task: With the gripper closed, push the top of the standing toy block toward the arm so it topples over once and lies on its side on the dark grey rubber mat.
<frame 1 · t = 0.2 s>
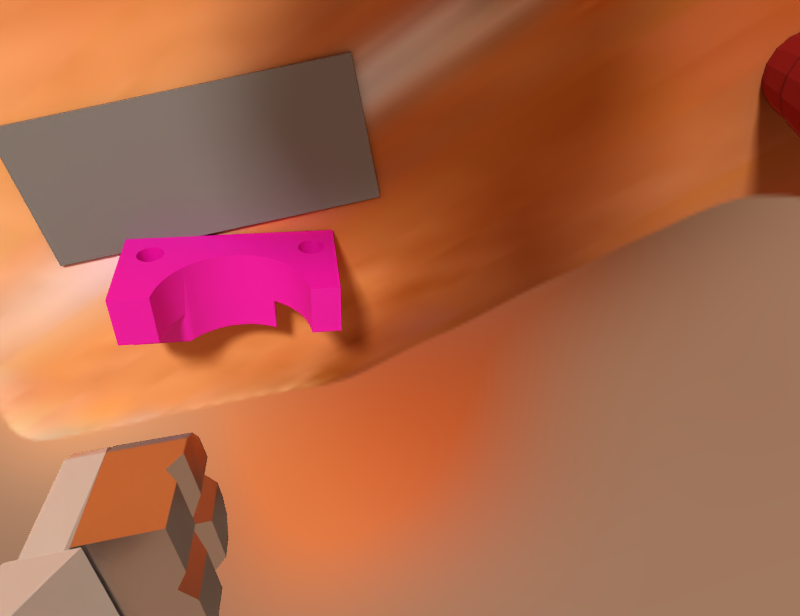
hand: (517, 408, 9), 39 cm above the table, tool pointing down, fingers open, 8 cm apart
rubber mat: (197, 164, 46), on the table
plastic cup: (796, 71, 49), on the table
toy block: (236, 268, 51), on the table, touching rubber mat
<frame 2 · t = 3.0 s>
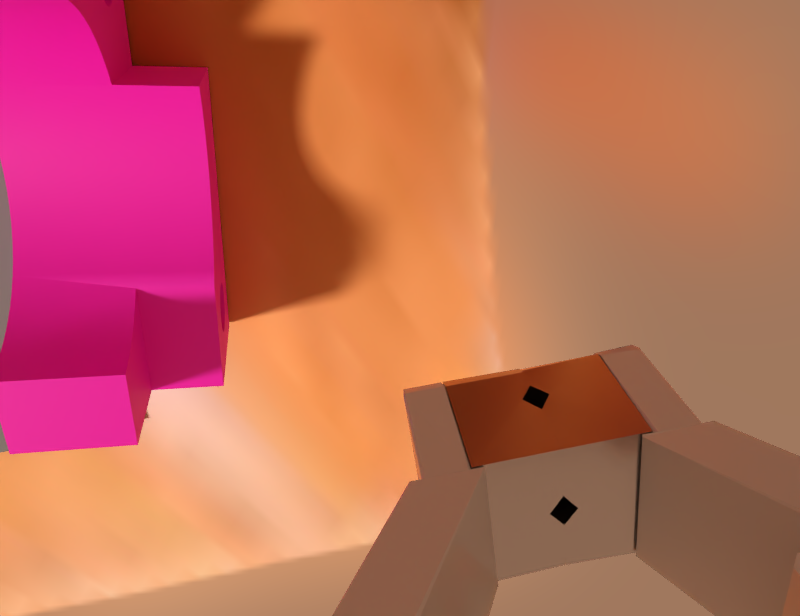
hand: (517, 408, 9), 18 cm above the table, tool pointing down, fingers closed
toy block: (126, 146, 24), on the table, touching rubber mat
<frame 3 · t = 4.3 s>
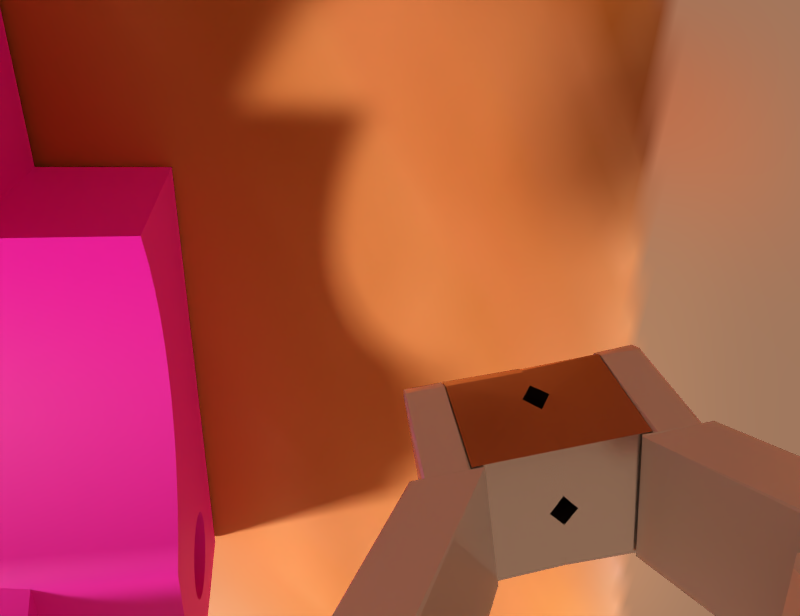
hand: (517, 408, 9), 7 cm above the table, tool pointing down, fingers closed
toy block: (34, 295, 14), on the table, touching rubber mat
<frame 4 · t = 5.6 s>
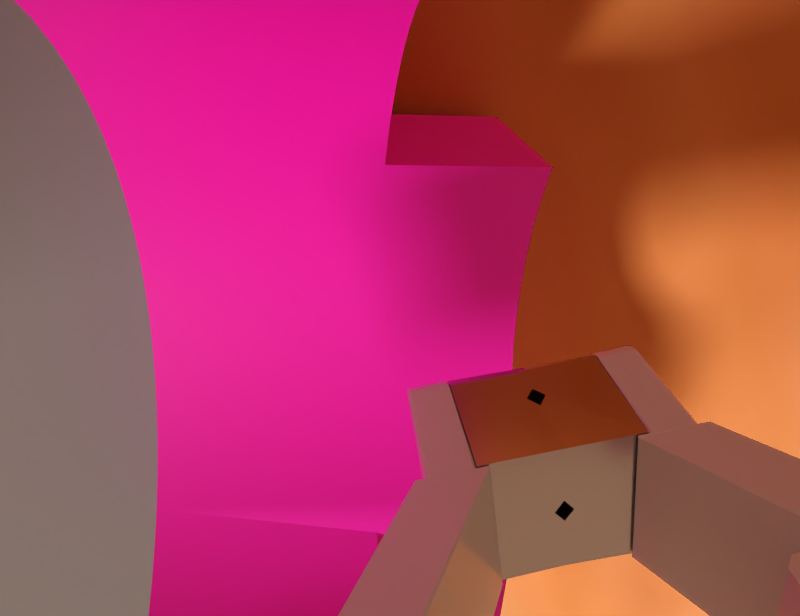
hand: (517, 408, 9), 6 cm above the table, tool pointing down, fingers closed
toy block: (334, 247, 14), on the table, touching gripper, rubber mat
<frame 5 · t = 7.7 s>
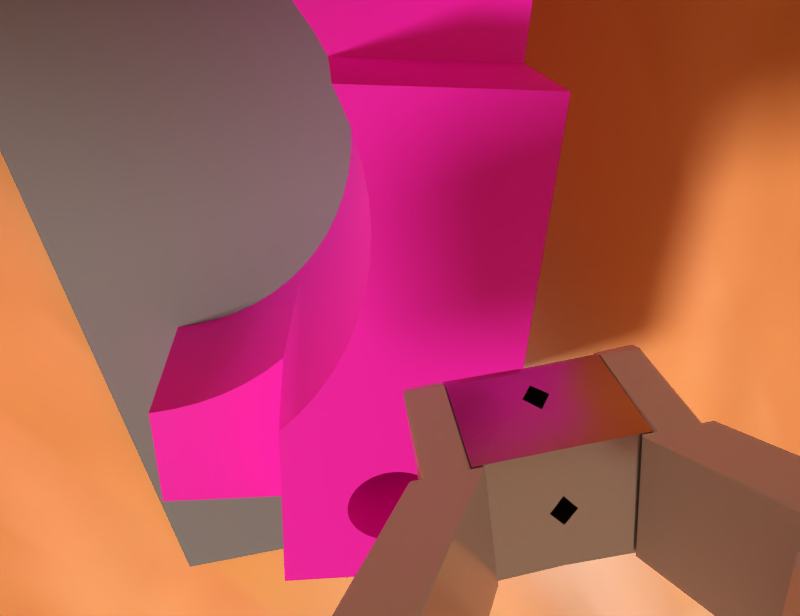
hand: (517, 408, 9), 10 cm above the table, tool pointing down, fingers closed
rubber mat: (254, 206, 17), on the table
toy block: (505, 200, 14), point 3 cm above the table, touching rubber mat
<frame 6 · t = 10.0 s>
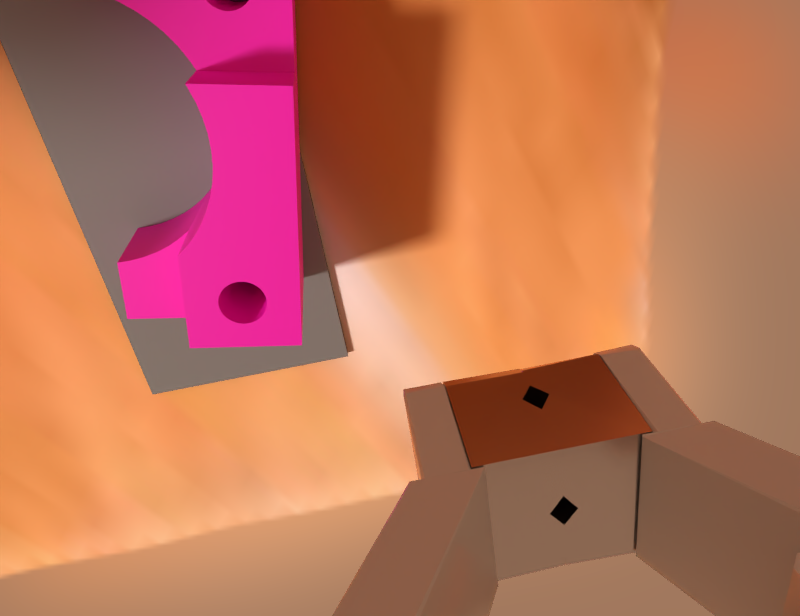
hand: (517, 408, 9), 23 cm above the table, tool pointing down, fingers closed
rubber mat: (179, 154, 30), on the table
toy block: (302, 144, 27), point 3 cm above the table, touching rubber mat
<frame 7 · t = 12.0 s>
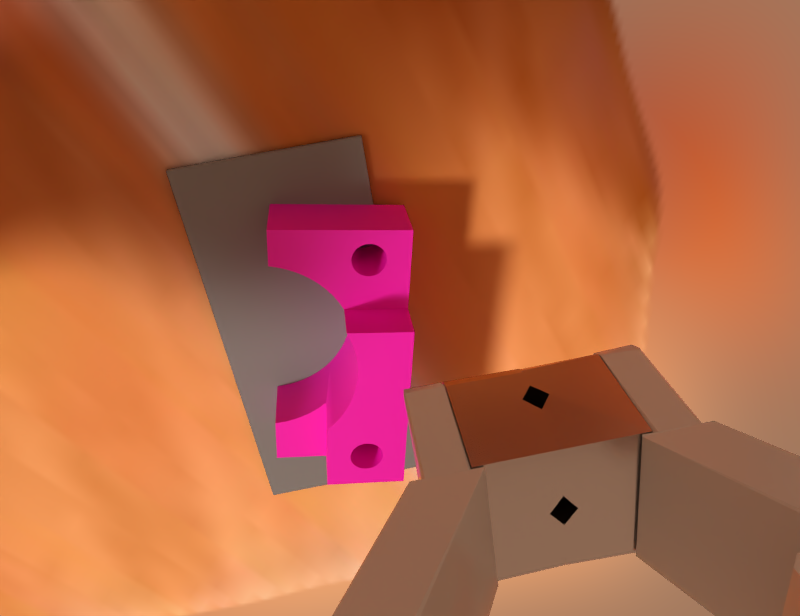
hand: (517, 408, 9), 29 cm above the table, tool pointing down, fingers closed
rubber mat: (311, 338, 42), on the table
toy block: (407, 346, 39), point 3 cm above the table, touching rubber mat
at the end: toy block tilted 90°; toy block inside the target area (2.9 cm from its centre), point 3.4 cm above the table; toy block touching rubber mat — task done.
